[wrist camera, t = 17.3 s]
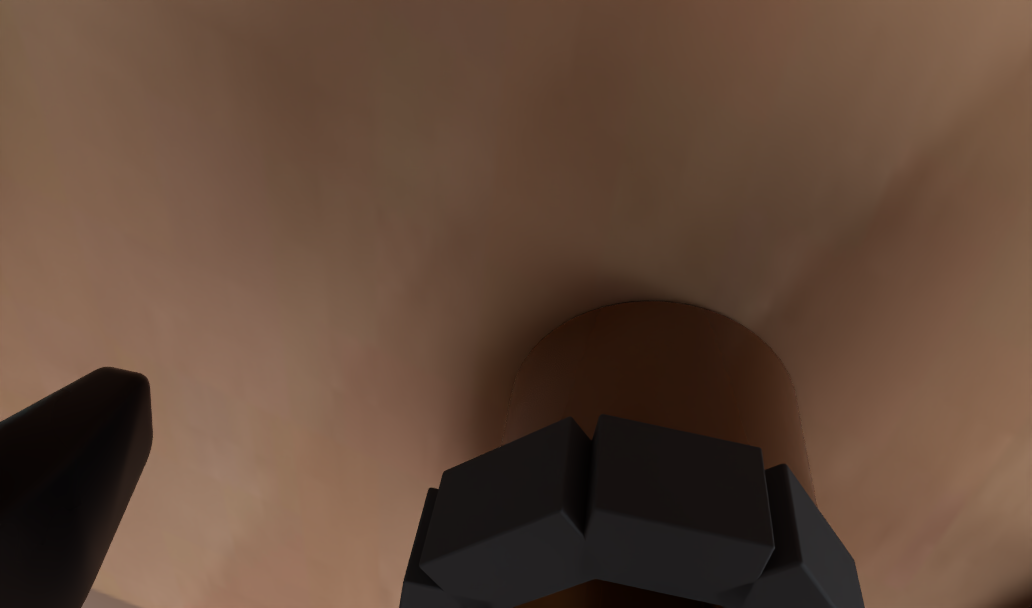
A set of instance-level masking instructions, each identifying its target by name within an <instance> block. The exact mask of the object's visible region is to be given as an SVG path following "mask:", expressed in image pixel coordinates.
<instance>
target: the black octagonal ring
mask: <svg viewBox="0 0 1032 608" xmlns="http://www.w3.org/2000/svg"><path fill="white" fill-rule="evenodd" d="M593 579H599V580H604V581H609V582H613V583H618V584H623V585H627V586H632V587H637V588H641V589H646V590H651V591H655V592H660V593H665V594H669V595H674V596H679V597H683V598H688V599H693V600H697V601H702V602H707V603H711V604H716V605H721V606H722V607H723V608H865V607H864V602H863V598H862V593H861V589H860V584H859V580H858V575H857V571H856V566H855V562H854V559H853V558H852V556H851V555H850V554H849V552H848V551H847V549H846V548H845V546H844V545H843V544H842V542H841V541H840V539H839V538H838V537H837V535H836V534H835V532H834V531H833V529H832V528H831V527H830V525H829V524H828V522H827V521H826V519H825V518H824V517H823V515H822V514H821V512H820V511H819V510H818V508H817V507H816V505H815V504H814V502H813V501H812V500H811V498H810V497H809V495H808V494H807V492H806V491H805V490H804V488H803V487H802V485H801V484H800V483H799V481H798V480H797V478H796V477H795V475H794V474H793V473H792V471H791V470H790V468H789V467H788V466H787V465H786V464H785V463H783V464H779V465H777V466H774V467H771V468H769V469H766V470H765V469H764V462H763V455H762V449H761V448H760V447H756V446H751V445H746V444H742V443H737V442H732V441H728V440H723V439H718V438H714V437H709V436H704V435H700V434H695V433H690V432H686V431H681V430H676V429H672V428H667V427H662V426H658V425H653V424H648V423H643V422H639V421H634V420H629V419H625V418H620V417H615V416H611V415H606V414H601V415H600V416H599V418H598V422H597V425H596V428H595V431H594V435H593V438H592V441H591V440H590V438H589V437H588V436H587V435H586V433H585V432H584V431H583V430H582V429H581V427H580V426H579V425H578V424H577V423H576V421H575V420H574V419H573V418H572V417H571V416H569V417H567V418H565V419H562V420H560V421H558V422H555V423H553V424H551V425H549V426H546V427H544V428H542V429H539V430H537V431H535V432H533V433H530V434H528V435H526V436H524V437H521V438H519V439H517V440H514V441H512V442H510V443H508V444H505V445H503V446H501V447H498V448H496V449H494V450H492V451H489V452H487V453H485V454H483V455H480V456H478V457H476V458H473V459H471V460H469V461H467V462H464V463H462V464H460V465H458V466H455V467H453V468H451V469H448V470H446V471H444V472H443V475H442V478H441V482H440V486H439V489H436V488H429V490H428V493H427V496H426V500H425V504H424V508H423V511H422V515H421V519H420V522H419V526H418V530H417V533H416V537H415V541H414V544H413V548H412V552H411V555H410V559H409V563H408V566H407V570H406V574H405V577H404V581H403V587H402V593H401V599H400V606H399V608H513V607H516V606H518V605H521V604H524V603H527V602H530V601H533V600H536V599H538V598H541V597H544V596H547V595H550V594H553V593H556V592H559V591H561V590H564V589H567V588H570V587H573V586H576V585H579V584H581V583H584V582H587V581H590V580H593Z"/></svg>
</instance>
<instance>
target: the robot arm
mask: <svg viewBox="0 0 1032 608" xmlns="http://www.w3.org/2000/svg"><path fill="white" fill-rule="evenodd" d="M152 440H153V428H152V411H151V394H150V385H149V381H148V379H147V377H146V376H144V375H142V374H141V373H137V372H132V371H127V370H123V369H118V368H114V367H103V368H99V369H97V370H95V371H93V372H91V373H89V374H87V375H85V376H84V377H82V378H80V379H78V380H76V381H75V382H73V383H71V384H69V385H67V386H65V387H64V388H62V389H60V390H58V391H56V392H54V393H53V394H51V395H49V396H47V397H45V398H43V399H42V400H40V401H38V402H36V403H34V404H32V405H31V406H29V407H27V408H25V409H23V410H21V411H20V412H18V413H16V414H14V415H12V416H11V417H9V418H7V419H5V420H3V421H1V422H0V608H81V607H82V605H83V603H84V601H85V600H86V598H87V595H88V593H89V591H90V589H91V587H92V585H93V583H94V581H95V578H96V576H97V574H98V572H99V569H100V567H101V565H102V563H103V560H104V558H105V556H106V553H107V551H108V549H109V547H110V544H111V542H112V540H113V537H114V535H115V533H116V530H117V528H118V526H119V524H120V521H121V519H122V517H123V514H124V512H125V510H126V508H127V505H128V503H129V501H130V498H131V496H132V494H133V492H134V489H135V487H136V485H137V482H138V480H139V478H140V475H141V473H142V471H143V469H144V466H145V464H146V462H147V459H148V457H149V453H150V450H151V446H152ZM1029 608H1032V604H1031V606H1030V607H1029Z"/></svg>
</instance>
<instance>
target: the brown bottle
mask: <svg viewBox="0 0 1032 608" xmlns="http://www.w3.org/2000/svg"><path fill="white" fill-rule="evenodd" d="M601 414H606V415H611V416H615V417H620V418H625V419H629V420H634V421H639V422H643V423H648V424H653V425H658V426H662V427H667V428H672V429H676V430H681V431H686V432H690V433H695V434H700V435H704V436H709V437H714V438H718V439H723V440H728V441H732V442H737V443H742V444H746V445H751V446H756V447H760V448H761V449H762V455H763V462H764V469H765V470H766V469H769V468H771V467H774V466H777V465H779V464H783V463H785V464H786V465H787V466H788V467H789V468H790V470H791V471H792V473H793V474H794V475H795V477H796V478H797V480H798V481H799V483H800V484H801V485H802V487H803V488H804V490H805V491H806V492H807V494H808V495H809V497H810V498H811V500H812V501H813V502H814V504H815V505H816V507H817V502H816V496H815V491H814V486H813V481H812V476H811V470H810V465H809V460H808V455H807V450H806V444H805V439H804V434H803V429H802V424H801V418H800V413H799V408H798V403H797V398H796V393H795V388H794V386H793V383H792V380H791V378H790V375H789V373H788V372H787V370H786V368H785V367H784V365H783V363H782V362H781V360H780V359H779V358H778V356H777V355H776V354H775V353H774V352H773V350H772V349H771V348H770V347H769V346H768V345H767V344H766V343H765V342H763V341H762V340H761V339H760V338H759V337H758V336H757V335H756V334H754V333H753V332H751V331H750V330H748V329H747V328H745V327H744V326H742V325H741V324H739V323H737V322H735V321H733V320H731V319H729V318H727V317H725V316H723V315H720V314H718V313H715V312H712V311H710V310H707V309H704V308H700V307H696V306H692V305H688V304H682V303H674V302H667V301H637V302H625V303H620V304H615V305H609V306H605V307H602V308H599V309H595V310H592V311H589V312H586V313H584V314H582V315H580V316H577V317H575V318H573V319H571V320H569V321H567V322H566V323H564V324H562V325H561V326H559V327H557V328H556V329H555V330H553V331H552V332H551V333H550V334H548V335H547V336H546V337H544V338H543V339H542V340H541V341H540V342H539V343H538V344H537V345H536V346H535V347H534V349H533V350H532V351H531V352H530V353H529V355H528V356H527V358H526V359H525V360H524V362H523V363H522V365H521V367H520V369H519V371H518V373H517V375H516V378H515V381H514V385H513V388H512V392H511V397H510V402H509V407H508V412H507V417H506V422H505V428H504V433H503V438H502V443H501V446H503V445H505V444H508V443H510V442H512V441H514V440H517V439H519V438H521V437H524V436H526V435H528V434H530V433H533V432H535V431H537V430H539V429H542V428H544V427H546V426H549V425H551V424H553V423H555V422H558V421H560V420H562V419H565V418H567V417H569V416H571V417H572V418H573V419H574V420H575V421H576V423H577V424H578V425H579V426H580V427H581V429H582V430H583V431H584V432H585V433H586V435H587V436H588V437H589V438H590V440H591V441H592V438H593V435H594V431H595V428H596V425H597V422H598V418H599V416H600V415H601ZM817 508H818V507H817ZM513 608H723V607H722V606H721V605H716V604H711V603H707V602H702V601H697V600H693V599H688V598H683V597H679V596H674V595H669V594H665V593H660V592H655V591H651V590H646V589H641V588H637V587H632V586H627V585H623V584H618V583H613V582H609V581H604V580H599V579H593V580H590V581H587V582H584V583H581V584H579V585H576V586H573V587H570V588H567V589H564V590H561V591H559V592H556V593H553V594H550V595H547V596H544V597H541V598H538V599H536V600H533V601H530V602H527V603H524V604H521V605H518V606H516V607H513Z"/></svg>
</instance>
